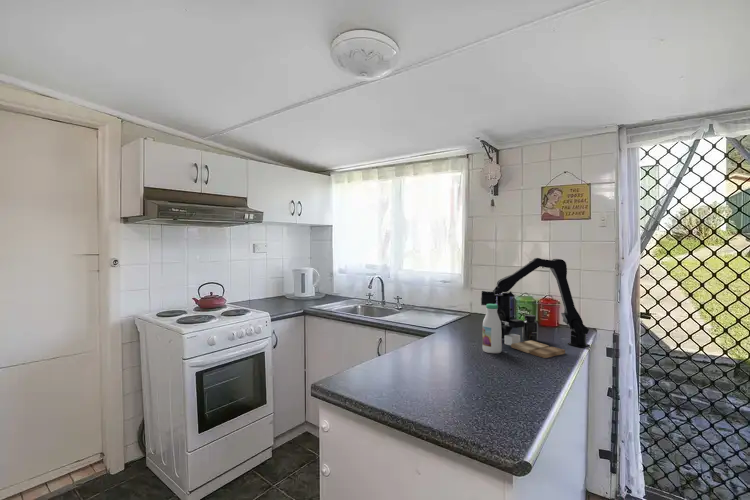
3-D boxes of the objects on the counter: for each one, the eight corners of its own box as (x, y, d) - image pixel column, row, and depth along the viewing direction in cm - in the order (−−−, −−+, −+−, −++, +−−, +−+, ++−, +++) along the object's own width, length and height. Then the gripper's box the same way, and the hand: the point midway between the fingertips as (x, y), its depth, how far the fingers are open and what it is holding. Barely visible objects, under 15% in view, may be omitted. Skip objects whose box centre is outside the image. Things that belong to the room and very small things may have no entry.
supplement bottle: (535, 343, 163) (535, 317, 163) (520, 341, 167) (520, 315, 167) (539, 340, 168) (539, 315, 168) (524, 338, 172) (524, 313, 172)
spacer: (512, 342, 165) (512, 333, 165) (520, 344, 162) (520, 335, 162) (504, 344, 162) (504, 335, 162) (512, 346, 158) (512, 337, 158)
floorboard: (550, 349, 152) (550, 346, 152) (565, 353, 146) (565, 350, 146) (529, 353, 146) (529, 350, 146) (544, 358, 140) (544, 354, 140)
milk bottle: (499, 348, 154) (498, 303, 154) (503, 354, 146) (503, 305, 146) (480, 348, 154) (480, 302, 154) (484, 353, 147) (484, 305, 147)
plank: (531, 343, 161) (531, 340, 161) (548, 349, 153) (548, 345, 153) (511, 347, 155) (511, 343, 155) (528, 353, 147) (528, 349, 147)
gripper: (476, 304, 171) (476, 336, 171) (507, 310, 154) (507, 346, 154) (493, 302, 176) (493, 334, 176) (524, 308, 159) (525, 342, 159)
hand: (504, 339), depth 166 cm, fingers closed
